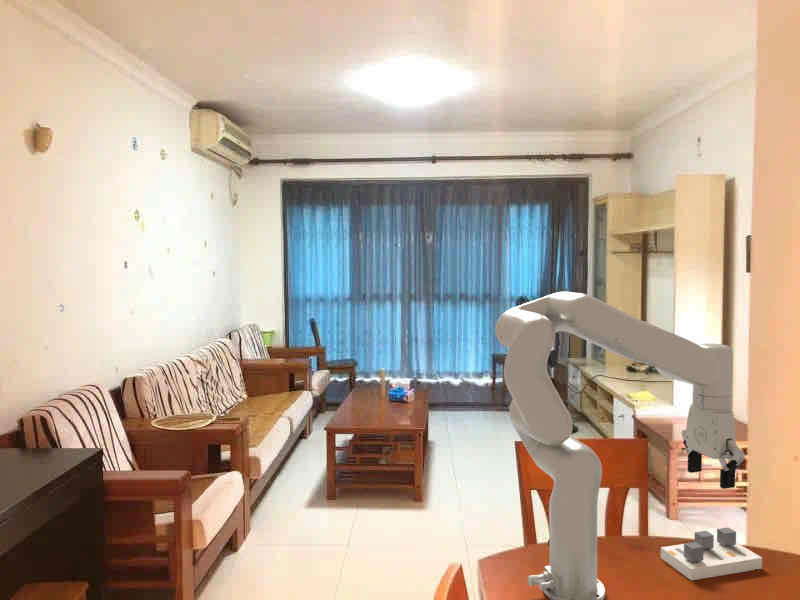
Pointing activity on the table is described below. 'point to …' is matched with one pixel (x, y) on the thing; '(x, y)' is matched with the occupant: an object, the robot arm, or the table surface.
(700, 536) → the middle switch
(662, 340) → the robot arm
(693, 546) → the left switch
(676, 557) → the switch box
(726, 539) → the right switch
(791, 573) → the table surface
